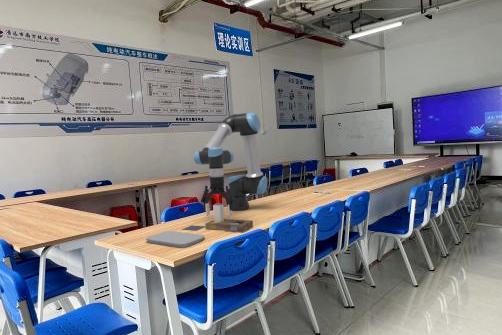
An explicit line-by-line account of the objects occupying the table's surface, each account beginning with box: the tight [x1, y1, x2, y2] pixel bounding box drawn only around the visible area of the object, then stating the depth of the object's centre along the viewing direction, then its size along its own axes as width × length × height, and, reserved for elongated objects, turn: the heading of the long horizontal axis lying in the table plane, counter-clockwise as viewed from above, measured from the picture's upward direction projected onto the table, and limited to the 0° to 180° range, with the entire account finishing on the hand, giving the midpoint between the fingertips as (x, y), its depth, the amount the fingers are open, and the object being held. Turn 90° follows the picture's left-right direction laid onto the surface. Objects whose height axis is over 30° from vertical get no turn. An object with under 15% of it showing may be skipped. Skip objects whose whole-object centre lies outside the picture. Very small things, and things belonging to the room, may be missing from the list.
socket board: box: [204, 218, 254, 233], centre depth 186 cm, size 12×22×4 cm, turn 65°
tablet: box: [145, 230, 206, 249], centre depth 167 cm, size 16×26×2 cm, turn 57°
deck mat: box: [180, 225, 205, 232], centre depth 190 cm, size 10×10×1 cm
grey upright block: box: [212, 202, 225, 223], centre depth 188 cm, size 4×4×13 cm
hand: (218, 215), depth 188 cm, fingers open, 13 cm apart
